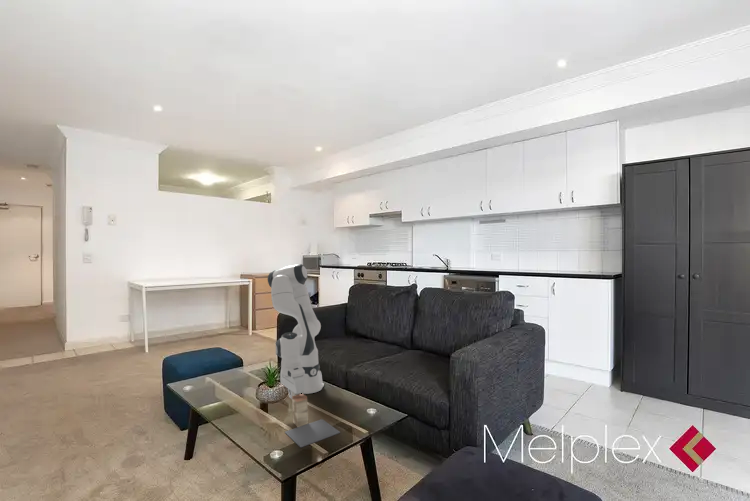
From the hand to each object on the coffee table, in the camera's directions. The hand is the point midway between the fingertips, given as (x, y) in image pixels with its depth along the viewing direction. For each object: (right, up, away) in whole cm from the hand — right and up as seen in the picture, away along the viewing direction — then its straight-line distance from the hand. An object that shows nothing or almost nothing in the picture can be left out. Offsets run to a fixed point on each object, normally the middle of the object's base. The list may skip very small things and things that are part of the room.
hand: (292, 398), depth 170 cm
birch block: (+5, -9, -6) cm, 12 cm away
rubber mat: (+12, -9, -15) cm, 21 cm away
